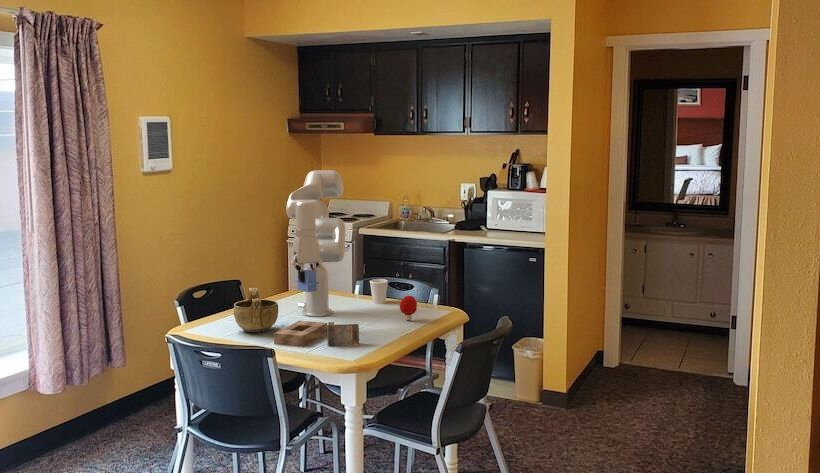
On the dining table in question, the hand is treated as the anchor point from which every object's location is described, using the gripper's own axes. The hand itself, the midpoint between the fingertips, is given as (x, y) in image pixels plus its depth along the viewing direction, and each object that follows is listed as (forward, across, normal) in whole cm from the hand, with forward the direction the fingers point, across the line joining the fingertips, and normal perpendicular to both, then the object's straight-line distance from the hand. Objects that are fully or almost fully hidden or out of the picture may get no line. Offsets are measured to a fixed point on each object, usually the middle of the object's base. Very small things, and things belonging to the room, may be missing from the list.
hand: (306, 280), depth 303 cm
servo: (+4, 0, 0) cm, 4 cm away
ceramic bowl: (+20, +14, -14) cm, 29 cm away
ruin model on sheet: (+21, +1, +24) cm, 32 cm away
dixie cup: (+19, -52, -22) cm, 59 cm away
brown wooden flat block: (+20, +7, +7) cm, 23 cm away
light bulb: (+20, -40, +13) cm, 46 cm away
